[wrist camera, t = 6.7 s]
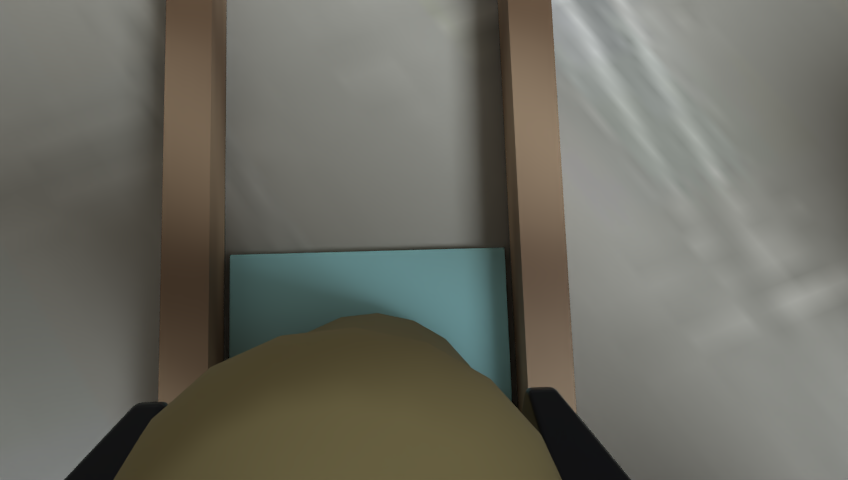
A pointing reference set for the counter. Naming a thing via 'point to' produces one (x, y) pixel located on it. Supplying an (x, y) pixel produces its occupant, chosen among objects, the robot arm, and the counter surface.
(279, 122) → the counter surface
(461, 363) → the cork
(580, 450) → the robot arm
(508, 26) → the rail track
